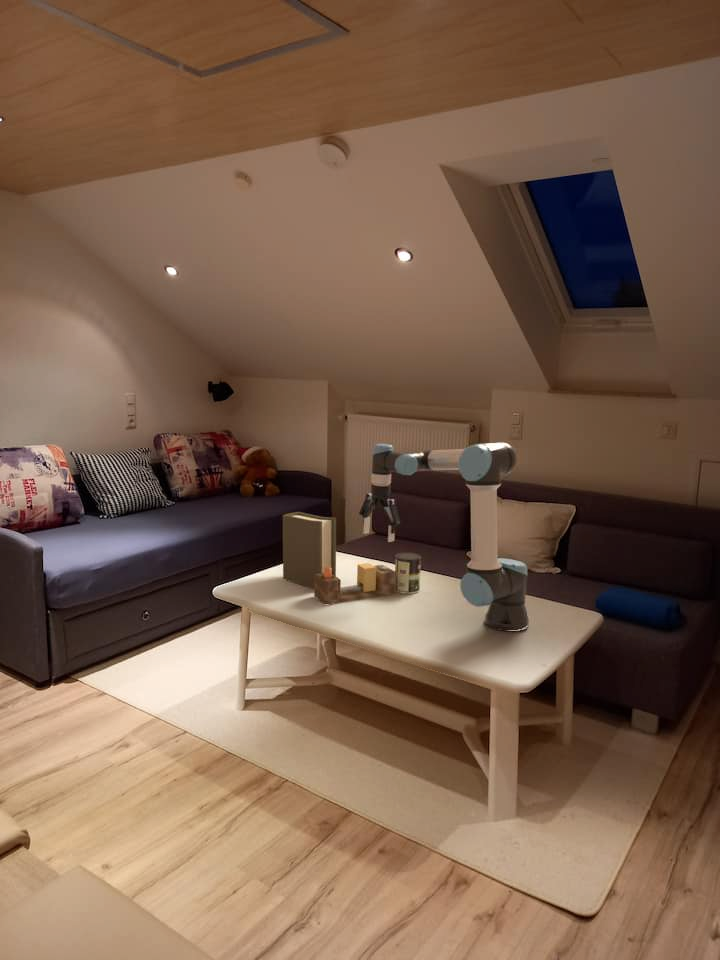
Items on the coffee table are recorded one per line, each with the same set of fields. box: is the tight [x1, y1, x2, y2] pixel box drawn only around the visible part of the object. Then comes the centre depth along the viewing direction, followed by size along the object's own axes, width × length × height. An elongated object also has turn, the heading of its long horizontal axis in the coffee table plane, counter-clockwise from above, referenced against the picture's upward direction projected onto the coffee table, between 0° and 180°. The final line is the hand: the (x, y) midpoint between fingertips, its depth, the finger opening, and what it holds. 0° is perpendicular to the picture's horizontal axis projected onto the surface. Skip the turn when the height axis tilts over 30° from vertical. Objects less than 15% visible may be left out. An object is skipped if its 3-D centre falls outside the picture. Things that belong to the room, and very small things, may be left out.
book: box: [282, 511, 337, 590], centre depth 287 cm, size 22×9×28 cm, turn 50°
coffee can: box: [394, 552, 422, 595], centre depth 282 cm, size 10×10×14 cm
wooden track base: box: [313, 564, 396, 605], centre depth 275 cm, size 30×10×10 cm, turn 119°
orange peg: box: [324, 567, 332, 579], centre depth 268 cm, size 3×3×6 cm
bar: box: [340, 584, 363, 595], centre depth 275 cm, size 17×2×2 cm, turn 119°
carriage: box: [356, 562, 376, 592], centre depth 277 cm, size 5×6×9 cm
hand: (378, 537), depth 277 cm, fingers open, 13 cm apart
